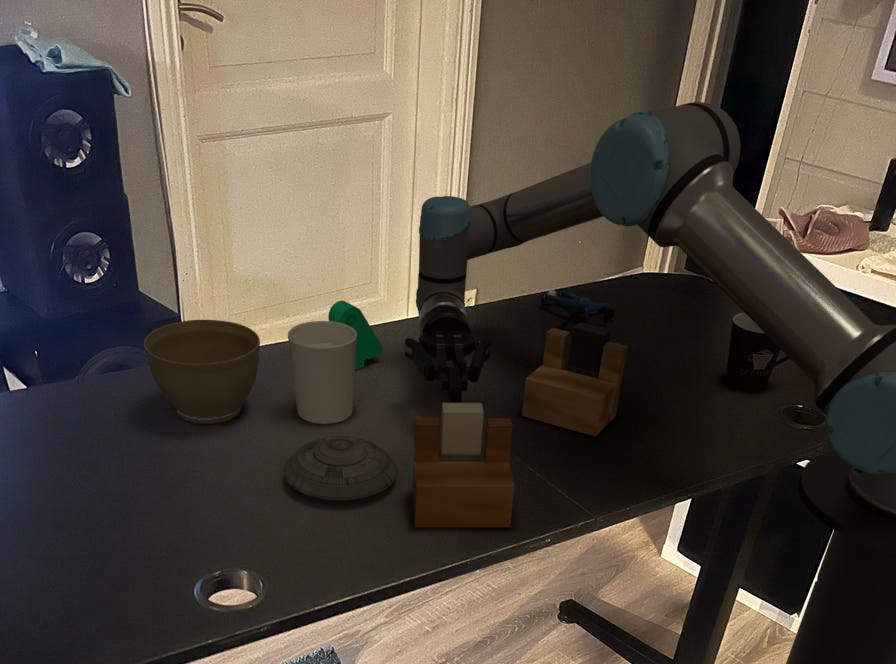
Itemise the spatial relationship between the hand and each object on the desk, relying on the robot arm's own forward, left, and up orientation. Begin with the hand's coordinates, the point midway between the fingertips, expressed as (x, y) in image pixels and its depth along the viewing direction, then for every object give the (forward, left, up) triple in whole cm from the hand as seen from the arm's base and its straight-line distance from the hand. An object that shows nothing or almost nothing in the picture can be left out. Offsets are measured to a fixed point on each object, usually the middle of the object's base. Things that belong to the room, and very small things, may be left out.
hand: (456, 396), depth 129 cm
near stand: (-12, +6, -9) cm, 16 cm away
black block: (+5, -27, -3) cm, 27 cm away
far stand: (+3, -23, -9) cm, 25 cm away
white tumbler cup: (+21, +9, -9) cm, 25 cm away
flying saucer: (+2, +16, -9) cm, 19 cm away
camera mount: (+36, -1, -9) cm, 37 cm away
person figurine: (+33, -48, -9) cm, 59 cm away
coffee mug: (-2, -57, -9) cm, 57 cm away
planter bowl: (+29, +24, -9) cm, 39 cm away
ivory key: (-8, +4, -3) cm, 9 cm away
